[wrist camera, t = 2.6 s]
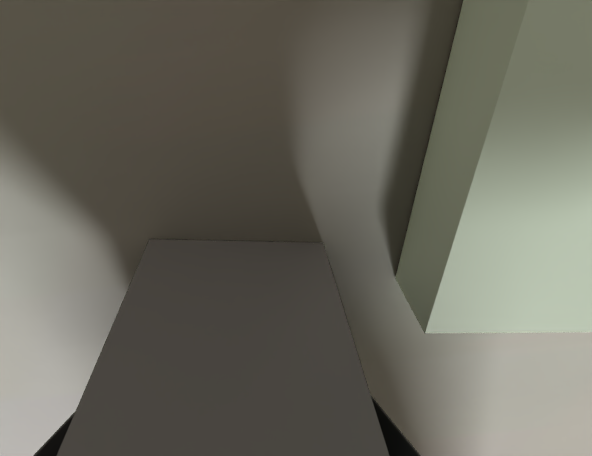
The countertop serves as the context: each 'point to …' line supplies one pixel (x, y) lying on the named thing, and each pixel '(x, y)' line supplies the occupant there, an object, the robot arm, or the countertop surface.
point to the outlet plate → (507, 176)
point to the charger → (228, 359)
